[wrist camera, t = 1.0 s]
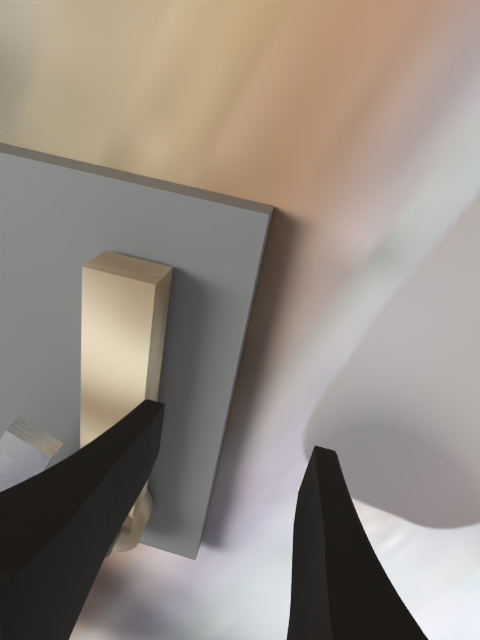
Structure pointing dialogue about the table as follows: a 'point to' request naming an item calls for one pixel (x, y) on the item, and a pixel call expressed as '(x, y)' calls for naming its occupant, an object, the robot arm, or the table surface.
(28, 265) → the board
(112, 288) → the link
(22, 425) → the keeper
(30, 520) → the robot arm
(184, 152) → the table surface
